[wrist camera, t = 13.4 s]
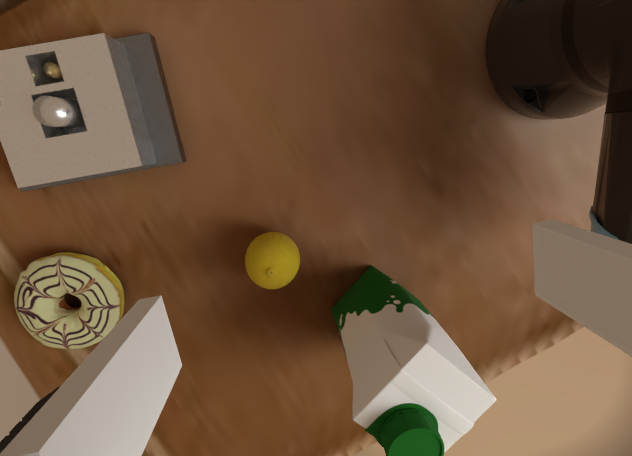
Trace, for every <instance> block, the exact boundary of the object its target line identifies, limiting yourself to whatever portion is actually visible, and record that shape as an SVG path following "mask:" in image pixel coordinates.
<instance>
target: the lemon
mask: <svg viewBox="0 0 632 456" xmlns="http://www.w3.org/2000/svg"><path fill="white" fill-rule="evenodd" d="M299 265H300V254H299V251H298V248H297V246H296V244H295V243H294V241H293V240H292V239H290V238H289V237H288V236H287V235H285V234H283V233H279V232H267V233H263V234H261V235H259V236H258V237H256V238H255V239H254V240H253V241H252V242H251V244H250V245H249V247H248V248H247V252H246V255H245V266H246V270H247V273H248V275H249V277H250V278H251V280H252V281H253V282H254V283H255V284H257V285H258V286H260V287H263V288H266V289H279V288H281V287H284V286H286V285H287V284H288V283H290V282H291V281H292V280H293V278H294V277H295V276H296V274H297V272H298V269H299Z"/></svg>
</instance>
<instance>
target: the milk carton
mask: <svg viewBox="0 0 632 456" xmlns="http://www.w3.org/2000/svg"><path fill="white" fill-rule="evenodd" d="M331 312H332V315H333V317H334V320H335V323H336V326H337V329H338V332H339V334H340V337H341V340H342V344H343V347H344V351H345V355H346V358H347V362H348V366H349V369H350V373H351V377H352V381H353V420H354V421H355V422H356V423H358V424H359V425H361V426H363V427H364V428H365V431H367V432H368V433H369V434H371V435H373V436H374V437H375V438H376V440H377V441H378V443H379V444H380V445H381V446H382V447H384V450H385V453H386V456H443V455H444V452H445V451H446V450H447V449H448V448H449V447H451V446H452V445H453V444H454V443H455V442H456V441H457V440H458V439H459V438H460V437H461V436H462V435H464V434H466V433H467V432H468V431H469V430H470V429H471V428H472V427H473V426H474V424H473V422H475V420H477V419H478V418H479V417H480V416H481V415H482V414H483V413H484V412H485V411H486V410H487V409H488V408H489V407H490V406H491V405H492V404H493V403H494V402H495V401H496V398H495V397H494V396H493V394H492V393H491V392H490V390H489V389H488V388H487V386H486V385H485V384H484V382H483V381H482V380H481V378H480V377H479V376H478V374H477V373H476V372H475V370H474V369H473V367H472V366H471V365H470V363H469V362H468V361H467V359H466V358H465V357H464V355H463V354H462V352H461V351H460V350H459V348H458V347H457V346H456V344H455V343H454V342H453V341H452V340H451V338H450V337H449V336H448V335H447V333H446V332H445V331H444V330H443V329H442V327H441V326H440V325H439V324H438V322H437V321H436V320H435V319H434V317H433V316H432V315H431V314H430V313H429V311H428V310H427V309H426V308H425V306H424V305H423V304H422V303H421V302H420V301H419V300H418V299H417V298H415V297H414V296H413V295H412V294H411V293H409V292H408V291H407V290H406V289H405V288H403V287H402V286H401V285H400V284H398V283H397V282H395V281H394V280H392V279H391V278H389V277H388V276H386V275H385V274H383V273H382V272H380V271H379V270H377V269H376V268H374V267H373V266H370V267H369V268H368V269H367V270H366V271H365V272H364V273H363V274H362V275H361V277H360V278H359V279H358V280H357V281H356V282H355V283H354V284H353V285H352V287H351V288H350V289H349V290H348V291H347V292H346V293H345V294H344V295H343V296H342V298H341V299H340V300H339V301H338V302H337V303H336V304H335V305H334V306H333V307H332V309H331Z"/></svg>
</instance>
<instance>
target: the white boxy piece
mask: <svg viewBox="0 0 632 456" xmlns="http://www.w3.org/2000/svg"><path fill="white" fill-rule="evenodd" d="M48 62H52V63H55V64H59V66H60V69H61V73H62V76H63V79H64V82H59V79H57V78H53V77H49V76H48V75H46V73H45V72H44V66H45V64H46V63H48ZM41 96H52V97H58V98H63V99H65V98H71V97H76V96H77V99H78V103H79V106H80V109H81V112H82V115H83V119H84V122H85V125H86V128H87V131H85V132H80V133H74V134H69V131H68V127H52V126H45V125H43V124H41V123H40V122H38V121H37V119H36V118H35V116H34V114H33V110H32V107H33V103H34V101H35V100H36V99H37V98H39V97H41ZM0 141H1V144H2V146H3V149H4V152H5V155H6V157H7V160H8V163H9V165H10V168H11V171H12V173H13V176H14V179H15V182H16V184H17V187H18V188H22V187H28V186H33V185H39V184H44V183H50V182H55V181H61V180H67V179H72V178H78V177H83V176H89V175H94V174H100V173H105V172H111V171H116V170H122V169H128V168H133V167H139V166H144V165H149V164H154V163H157V162H156V158H155V154H154V151H153V147H152V144H151V140H150V136H149V133H148V129H147V125H146V122H145V118H144V114H143V111H142V107H141V103H140V100H139V96H138V93H137V89H136V85H135V82H134V78H133V74H132V71H131V67H130V63H129V60H128V56H127V53H126V49H125V45H124V44H123V43H121V42H119V41H117V40H116V39H114V38H112V37H110V36H109V35H107V34H105V33H101V34H95V35H89V36H83V37H78V38H72V39H66V40H60V41H54V42H48V43H42V44H36V45H30V46H24V47H18V48H12V49H6V50H0Z"/></svg>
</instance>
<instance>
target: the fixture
mask: <svg viewBox="0 0 632 456" xmlns="http://www.w3.org/2000/svg"><path fill="white" fill-rule="evenodd" d="M116 40H117V41H119V42H121V43H123V44H124V45H125V49H126V53H127V56H128V60H129V63H130V67H131V71H132V74H133V78H134V82H135V85H136V89H137V93H138V96H139V100H140V103H141V107H142V111H143V114H144V118H145V122H146V125H147V129H148V133H149V136H150V140H151V144H152V147H153V151H154V154H155V158H156V162H157V163H154V164H149V165H144V166H139V167H133V168H128V169H122V170H116V171H111V172H105V173H100V174H94V175H89V176H83V177H78V178H72V179H67V180H61V181H55V182H50V183H44V184H39V185H33V186H28V187H22V188H20V189H21V192H22V191H28V190H33V189H39V188H44V187H50V186H55V185H61V184H66V183H72V182H77V181H83V180H88V179H94V178H99V177H105V176H110V175H116V174H121V173H127V172H132V171H138V170H143V169H149V168H154V167H160V166H165V165H171V164H176V163H182V162H186V158H185V154H184V151H183V147H182V143H181V139H180V135H179V131H178V127H177V123H176V119H175V115H174V112H173V108H172V104H171V100H170V96H169V92H168V88H167V84H166V80H165V77H164V73H163V69H162V65H161V61H160V57H159V53H158V49H157V45H156V41H155V38H154V36H152V35H151V34H150V33H145V34H139V35H134V36H128V37H122V38H116ZM44 72H45V73H46V75H48V76H49V77H53V78H57V79H59V82H64V79H63V76H62V73H61V69H60V66H59V64H55V63H52V62H48V63H46V64H45V66H44ZM32 110H33V114H34V116H35V118H36V119H37V121H38V122H40V123H41V124H43V125H45V126H52V127H68V131H69V134H74V133H80V132H85V131H87V128H86V125H85V122H84V119H83V115H82V112H81V109H80V106H79V103H78V99H77V96H76V97H71V98H65V99H63V98H58V97H52V96H41V97H39V98H37V99H36V100H35V101H34V103H33V107H32Z"/></svg>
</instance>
